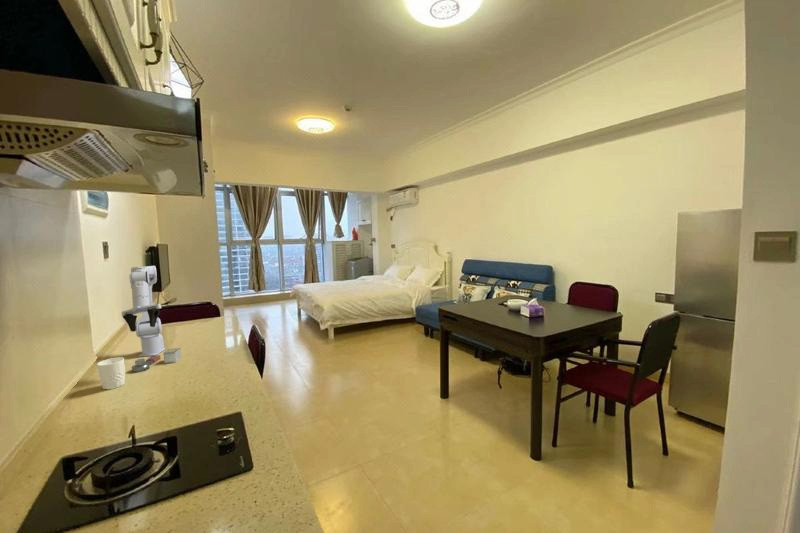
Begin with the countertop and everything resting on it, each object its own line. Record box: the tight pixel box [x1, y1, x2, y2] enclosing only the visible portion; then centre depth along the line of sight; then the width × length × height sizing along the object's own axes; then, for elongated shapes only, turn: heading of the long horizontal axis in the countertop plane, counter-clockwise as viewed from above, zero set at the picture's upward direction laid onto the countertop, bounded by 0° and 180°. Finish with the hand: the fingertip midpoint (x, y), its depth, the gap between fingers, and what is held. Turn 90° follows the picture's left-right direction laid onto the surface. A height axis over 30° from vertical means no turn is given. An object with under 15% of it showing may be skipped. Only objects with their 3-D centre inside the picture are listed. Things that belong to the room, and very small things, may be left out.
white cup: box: [96, 357, 126, 390], centre depth 127 cm, size 8×8×10 cm
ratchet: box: [131, 354, 161, 374], centre depth 147 cm, size 15×6×4 cm, turn 9°
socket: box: [163, 347, 182, 364], centre depth 151 cm, size 5×5×5 cm
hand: (143, 329), depth 138 cm, fingers open, 7 cm apart
